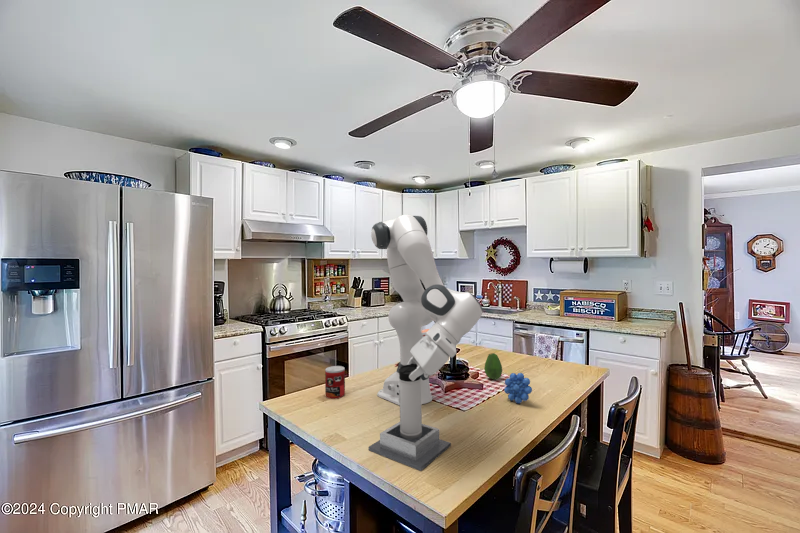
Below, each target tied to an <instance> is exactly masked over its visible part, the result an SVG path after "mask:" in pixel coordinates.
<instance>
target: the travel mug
mask: <svg viewBox="0 0 800 533" xmlns="http://www.w3.org/2000/svg"><path fill="white" fill-rule="evenodd" d="M417 367H418V365H417V364H413V363H411V364H409V365H404V366H402V367H400V369H399V375H400V376H399V393H400V405H399V422H400V434H401V436H402V437H403V438H405V439H410V440H412V439H417V438H419V437H420V436H421V435H422V424H423V422H422V415H423V414H422V404H421V377H420V376H419V377H417V378H416V379H415V380H414V381H412V380H411V379H409V377H408V375H409V374H410V373H411V372H413V371H414V370H415V369H417Z"/></svg>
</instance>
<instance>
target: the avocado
mask: <svg viewBox="0 0 800 533" xmlns="http://www.w3.org/2000/svg"><path fill="white" fill-rule="evenodd" d="M502 373H503V366H502V362H501V361H500V358H499V356H498V354H497V353H489V354H488V355H487V358H486V360H485V363H484V374H485V375H486V376H487V377H488V379H491V380H495V381H496V380H499V379H500V378H501V377H502V375H503V374H502Z"/></svg>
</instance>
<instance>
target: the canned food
mask: <svg viewBox="0 0 800 533" xmlns="http://www.w3.org/2000/svg"><path fill="white" fill-rule="evenodd" d="M324 372H325V374H324V376H325V377H324V381H325V382H324V384H325V387H324V388H325V397H326V398H327V399H332V400H334V399H335V400H336V399H340V398H342V397H344V396H345V394H346V369H345V367H344V366H342V365H331V366H328V367H326V368H325V370H324Z"/></svg>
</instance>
